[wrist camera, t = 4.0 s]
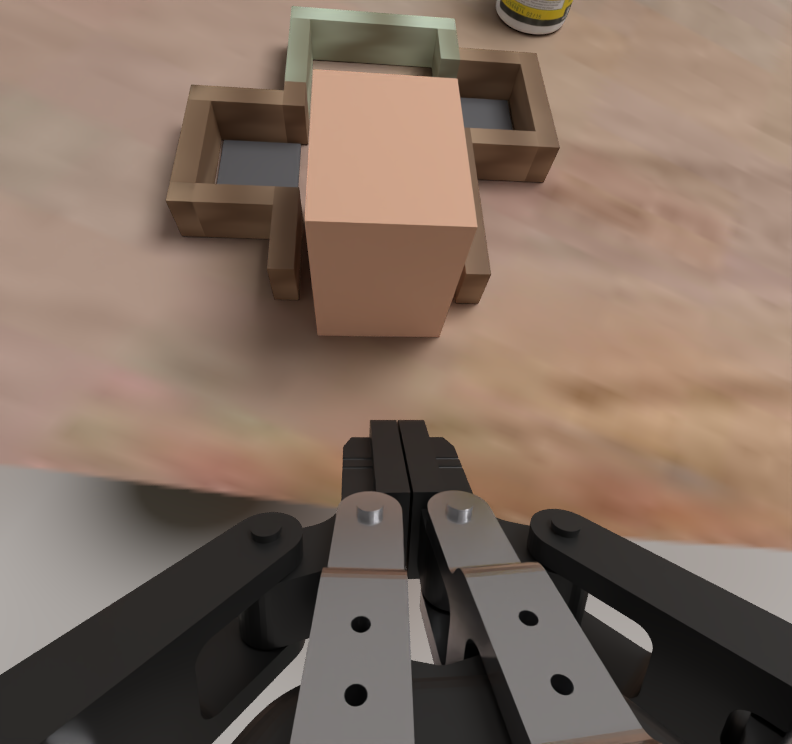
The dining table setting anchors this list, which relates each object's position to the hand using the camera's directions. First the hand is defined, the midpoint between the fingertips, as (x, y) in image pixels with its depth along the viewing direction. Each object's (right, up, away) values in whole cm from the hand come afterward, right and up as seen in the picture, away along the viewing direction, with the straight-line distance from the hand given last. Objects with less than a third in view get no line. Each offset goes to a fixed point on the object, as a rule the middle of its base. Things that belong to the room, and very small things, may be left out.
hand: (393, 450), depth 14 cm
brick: (-1, +8, +12) cm, 14 cm away
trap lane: (-1, +15, +15) cm, 21 cm away
